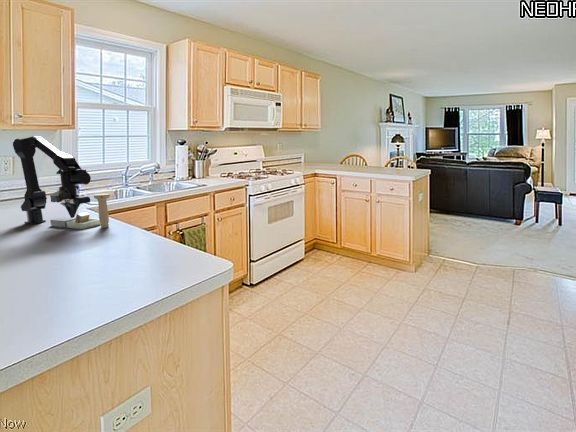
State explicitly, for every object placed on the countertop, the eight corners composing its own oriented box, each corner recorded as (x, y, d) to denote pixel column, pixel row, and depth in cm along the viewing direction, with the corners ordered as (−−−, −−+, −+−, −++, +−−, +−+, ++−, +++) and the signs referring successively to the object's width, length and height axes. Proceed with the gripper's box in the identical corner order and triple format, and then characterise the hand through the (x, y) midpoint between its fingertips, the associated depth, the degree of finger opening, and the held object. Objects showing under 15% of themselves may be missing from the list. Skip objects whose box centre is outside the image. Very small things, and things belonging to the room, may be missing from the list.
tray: (67, 227, 179) (66, 222, 178) (85, 223, 188) (85, 217, 187) (82, 229, 175) (82, 223, 175) (100, 224, 184) (100, 219, 184)
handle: (112, 227, 178) (109, 194, 175) (96, 228, 175) (93, 195, 172) (112, 225, 182) (109, 193, 179) (97, 226, 180) (94, 194, 177)
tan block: (76, 213, 178) (81, 216, 178) (85, 211, 183) (89, 214, 182) (74, 223, 180) (78, 226, 179) (83, 221, 184) (87, 223, 184)
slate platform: (51, 226, 182) (50, 219, 181) (64, 223, 188) (63, 216, 188) (65, 227, 178) (64, 221, 178) (78, 224, 185) (77, 218, 184)
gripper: (37, 185, 175) (42, 219, 178) (67, 186, 168) (71, 222, 171) (60, 182, 185) (64, 215, 188) (89, 183, 178) (93, 217, 181)
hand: (72, 217), depth 182 cm, fingers closed
